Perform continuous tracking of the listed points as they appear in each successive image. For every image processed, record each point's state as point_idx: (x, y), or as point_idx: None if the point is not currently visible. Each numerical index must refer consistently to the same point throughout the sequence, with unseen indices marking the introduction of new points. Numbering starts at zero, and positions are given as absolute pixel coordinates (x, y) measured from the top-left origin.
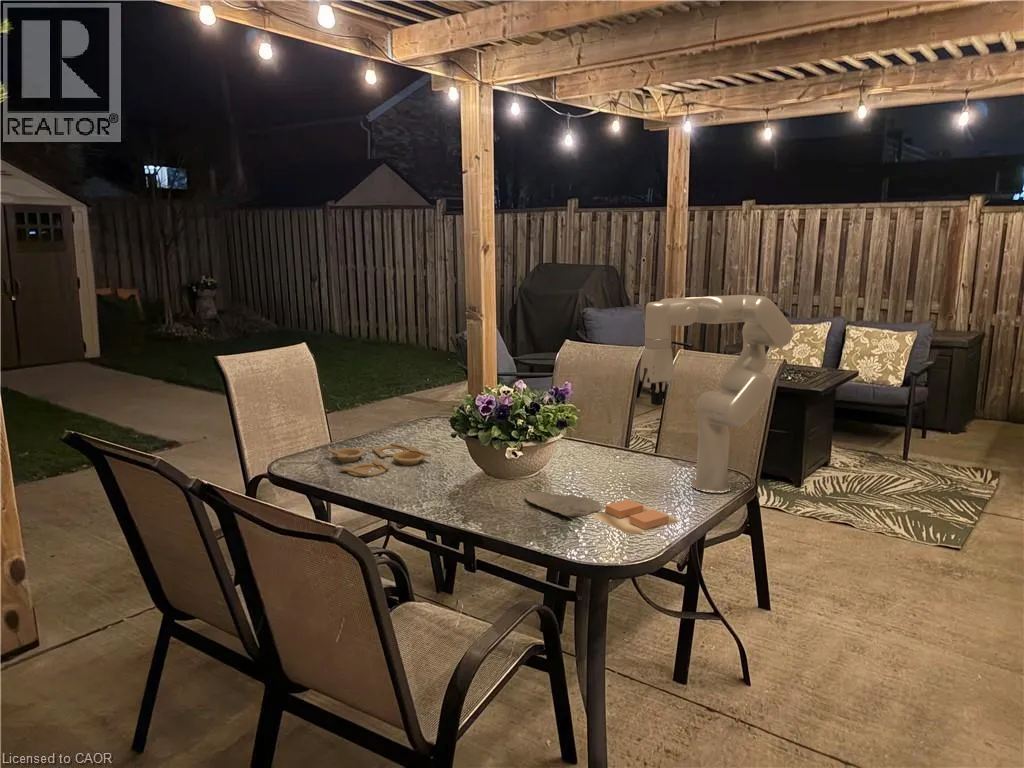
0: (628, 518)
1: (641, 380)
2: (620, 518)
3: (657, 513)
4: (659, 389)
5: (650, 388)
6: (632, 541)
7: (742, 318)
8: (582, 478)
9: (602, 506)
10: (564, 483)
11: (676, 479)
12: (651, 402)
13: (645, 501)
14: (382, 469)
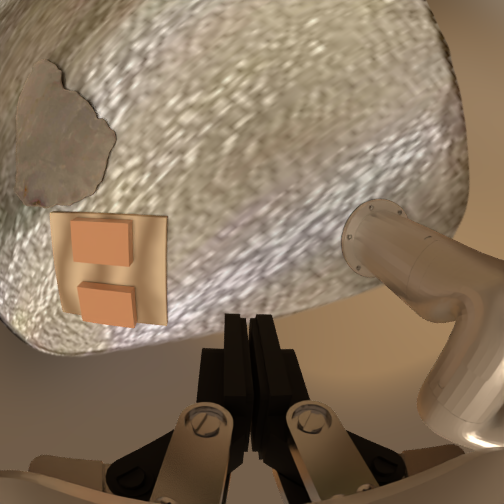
0: (94, 264)
1: (5, 480)
2: None
3: (124, 310)
4: (267, 462)
5: (147, 459)
6: (62, 314)
7: None
8: (214, 15)
9: (89, 191)
10: (156, 19)
11: (375, 157)
12: (225, 319)
13: (203, 203)
14: None
